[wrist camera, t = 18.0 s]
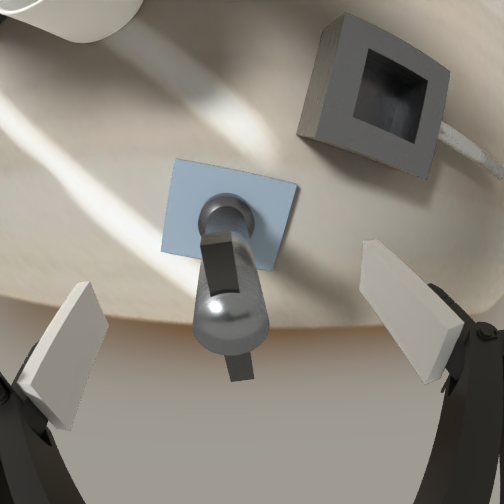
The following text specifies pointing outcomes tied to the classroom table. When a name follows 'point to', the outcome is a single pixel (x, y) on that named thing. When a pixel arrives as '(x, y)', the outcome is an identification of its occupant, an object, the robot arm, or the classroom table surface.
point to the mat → (216, 182)
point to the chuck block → (381, 100)
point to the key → (229, 285)
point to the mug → (73, 16)
